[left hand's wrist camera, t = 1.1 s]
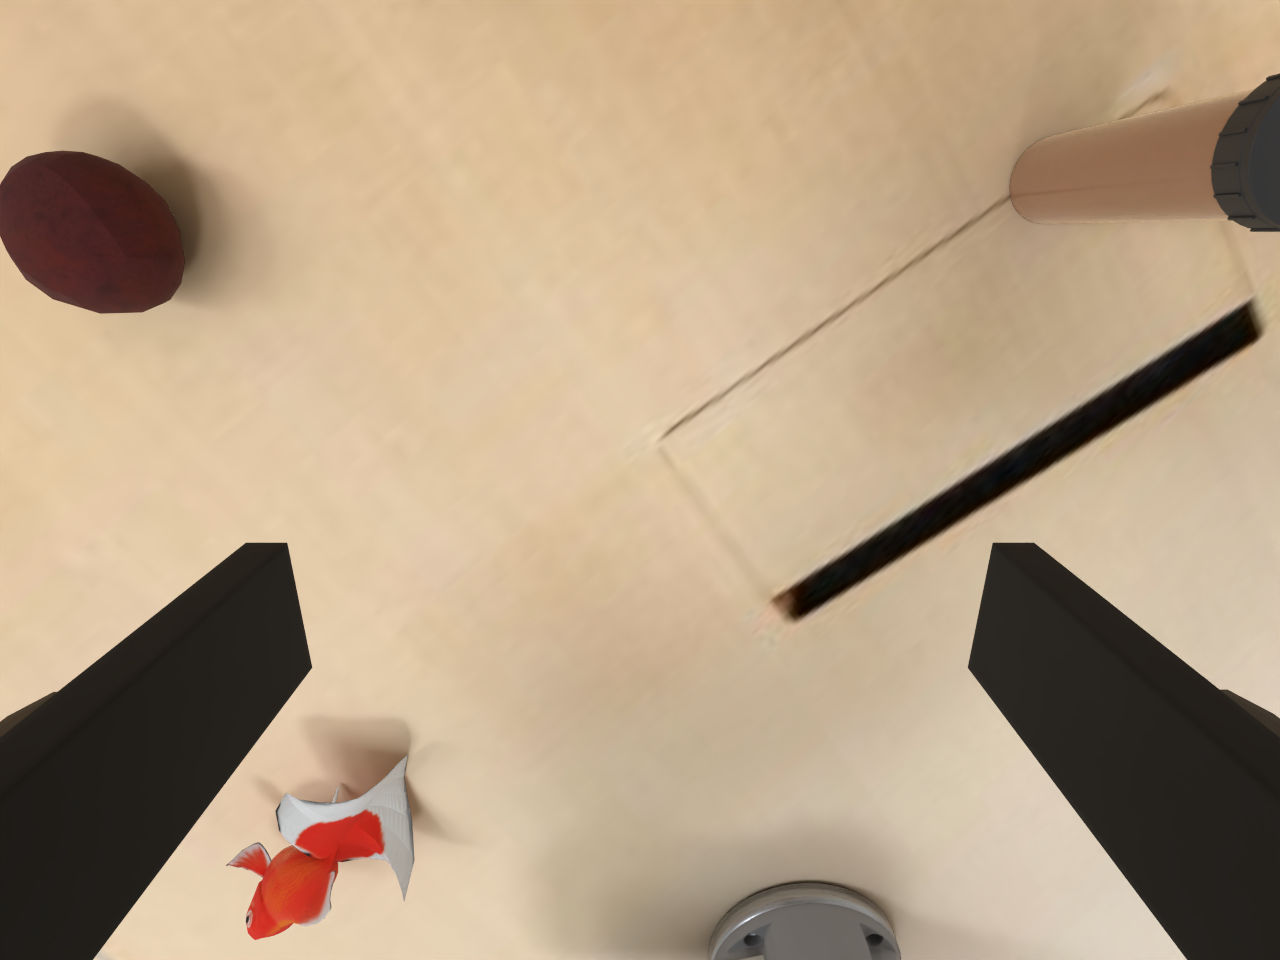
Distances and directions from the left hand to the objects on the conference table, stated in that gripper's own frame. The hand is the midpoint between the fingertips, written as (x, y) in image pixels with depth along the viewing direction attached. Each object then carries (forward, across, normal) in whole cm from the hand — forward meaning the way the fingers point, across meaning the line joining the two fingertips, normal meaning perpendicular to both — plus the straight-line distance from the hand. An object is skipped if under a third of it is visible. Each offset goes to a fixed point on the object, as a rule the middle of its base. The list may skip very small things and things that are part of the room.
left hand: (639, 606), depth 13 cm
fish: (+28, +22, +33) cm, 49 cm away
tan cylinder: (+28, -22, -9) cm, 37 cm away
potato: (+28, +27, -6) cm, 39 cm away
